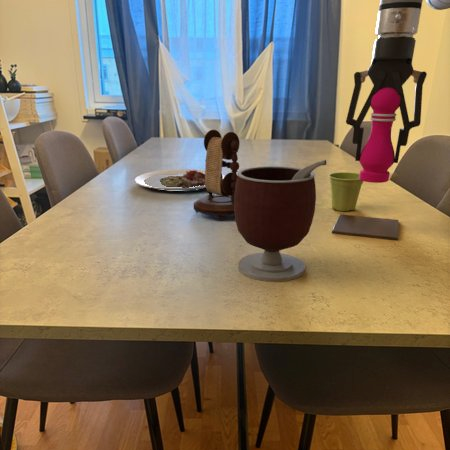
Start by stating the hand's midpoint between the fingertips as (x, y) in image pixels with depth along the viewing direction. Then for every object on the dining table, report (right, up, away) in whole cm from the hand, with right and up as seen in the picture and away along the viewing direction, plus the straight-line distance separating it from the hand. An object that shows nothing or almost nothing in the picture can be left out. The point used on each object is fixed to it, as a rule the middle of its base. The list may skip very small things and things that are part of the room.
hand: (376, 160), depth 93 cm
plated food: (-47, +8, +50) cm, 69 cm away
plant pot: (-1, -6, +22) cm, 23 cm away
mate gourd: (-24, -25, -14) cm, 37 cm away
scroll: (-34, -8, +19) cm, 39 cm away
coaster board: (0, -13, +8) cm, 15 cm away
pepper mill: (0, -4, +2) cm, 4 cm away
